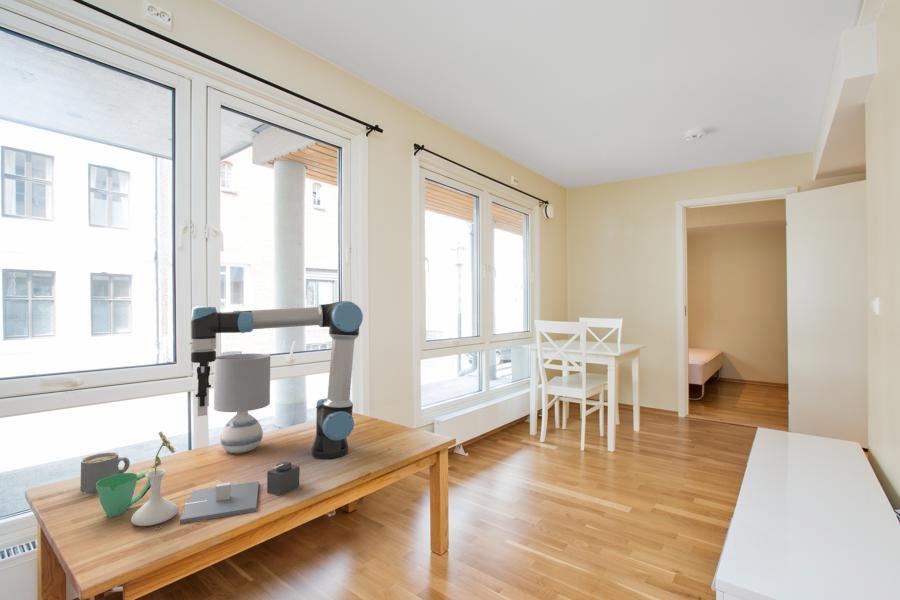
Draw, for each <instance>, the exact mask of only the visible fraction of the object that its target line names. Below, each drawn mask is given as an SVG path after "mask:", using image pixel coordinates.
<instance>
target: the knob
mask: <svg viewBox="0 0 900 600" xmlns="http://www.w3.org/2000/svg"><path fill="white" fill-rule="evenodd" d="M300 471H301V469H300V465H295V464H292V462H290V461H281V462H279V463H277V464H276V465H275V466H274V467H273V468H272V469H270V470H267V472H266V475H267V477H266V478H267V479H266V482H267V483H266V492H267V493H270V494H272V495H276V496H279V497H281V496H283V495H286V494H287V493H289V492H291V491H294V490H295V489H297V488H300V473H301V472H300Z"/></svg>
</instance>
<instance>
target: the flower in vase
mask: <svg viewBox="0 0 900 600" xmlns="http://www.w3.org/2000/svg"><path fill="white" fill-rule="evenodd" d="M158 435H159V437H160V439H161V441H162V443H161V445H160V447H159V449H158V451H157V453H156V455H155V460H154V465H153V466H152V467H151V469H153V470H151V471H149V472H148V473H146V474H145V476H146V477H145V478H147V480H148V479H149V481H150V485H151V487H150V497H149V498H148V500H147V501H146V502H145V503H144V504H143V505H141V506H140V507H139V508H138V509H137V510H136V511H135V512H134V513H133V514H132V516H131V518H130V523H132V525H135V526H139V527H149V526H154V525H159V524H161V523H164V522H167V521H168V520H170V519H172V518H173V517H175V516H176V514H178V511H179V507H178V505H177V504H176V503H175V502H173V501H171V500H169V499H166V498H164V497H163V496H162V495H161V484H162V479H163V477H164V475H165V474H166V472H167V470H166V469H157V467H159V466H161V465H162V460H161V459H160V456H159V455H160V454H159V453H160V451H161V450H162V447H166V448H167V450H168V451H169V452H170V453H171V454H174V453H176V451H175V448H174V446H172V445H171V442H170V440H167V436H166V435H165V434H164V433H163V431H161V430H160V431H159V432H158Z"/></svg>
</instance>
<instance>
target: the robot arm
mask: <svg viewBox="0 0 900 600" xmlns="http://www.w3.org/2000/svg"><path fill="white" fill-rule="evenodd" d="M361 309H362V308H360V307H359V305H357V304H356V303H355V302H352V301H349V300H344V301H335V302H331V303H325V304H319V305H317V306H315V307H296V308H295V307H294V308H293V307H292V308H273V309H256V310H253V309H252V310H234V311H226V312H224V311H223V312H221V311H218V310H217V308H216V307H215V306H195V307H193V308H192V309H191V319H190V321H191V323H190V324H191V325H190V327H191V328H190V329H191V334H190V335H191V336H190V337H191V341H189V343H188V344H189V345H191V348H190V349H191V350H192V351H191V353H190V354H191V355H190V357H191V358H190V361H191V363H194V364H199V366H197V367H196V373H197V376H196V377H197V378H196V379H197V393H196V394H194V395H195V397H194V398H197V417H204V416H208V407H209V405H210V401H209V400H210V389H211V388H212V384H210V382H209V381H210V380H209V379H210V375H211V374H210V373H211V366H210V365H209V364H210V363H212V362H214V361H215V360H216V357H217V350H216V349H217V334H232V333H233V334H234V333H235V334H238V333H239V334H240V333H241V334H245V333H252V332H253V330H262V329H264V330H265V329H278V328H280V329H281V328H293V327H294V328H295V327H311V326H318V327H320V328H329V331H328V335H329V336H330V337H331V339H332V340H331V341H332V342H331V352H330V353H331V354H330V364H329V377H328V388H327V389H328V390H327V398H321V399H318V400H317V401H316V406H315V408H316V419H315V420H316V425H315V427H316V433H315V438H314V441H313V444H312V448H311V456H312V457H314V458H316V459H322V460H327V459H328V460H329V459H337V458H340V457H341V458H342V457H343V456H345V455H347V454H348V453H349V450H350V449H349V447H350V446H349V444H348V440H347V437H349V436H350V435H351V433H352V432H353V430H354V427H355V421H354V418H353V409H354V403H353V401H351V399H350V397H351V396H350V395H351V386H352V385H351V384H352V374H353V362H354V361H353V360H354V350H355V340H356V339H357V338H358V337H359V335H360V327H361V325H362V322H363V317H364V314H363V311H362V310H361Z"/></svg>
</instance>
